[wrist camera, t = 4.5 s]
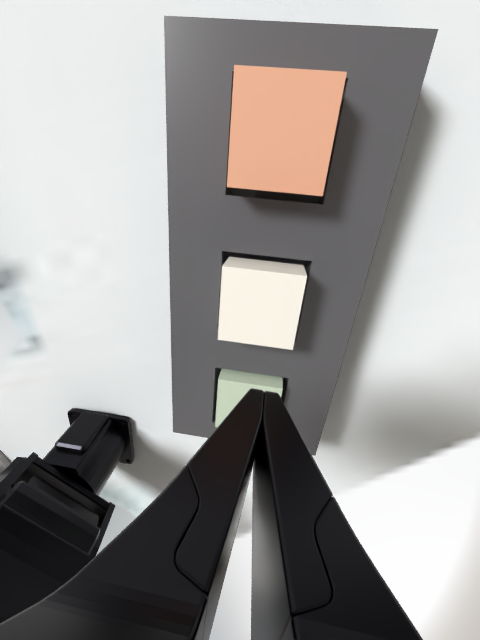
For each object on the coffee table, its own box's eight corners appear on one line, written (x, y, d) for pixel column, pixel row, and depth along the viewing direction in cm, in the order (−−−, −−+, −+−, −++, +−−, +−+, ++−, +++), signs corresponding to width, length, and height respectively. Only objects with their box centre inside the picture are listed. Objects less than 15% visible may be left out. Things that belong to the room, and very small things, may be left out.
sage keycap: (274, 413, 24) (273, 436, 21) (221, 404, 24) (215, 426, 22) (282, 368, 22) (282, 388, 20) (224, 360, 22) (218, 379, 20)
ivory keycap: (291, 331, 19) (292, 350, 17) (224, 322, 19) (217, 339, 17) (303, 265, 17) (307, 276, 15) (229, 256, 17) (222, 265, 15)
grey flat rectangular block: (310, 423, 26) (315, 455, 23) (185, 403, 27) (173, 432, 24) (404, 63, 15) (438, 29, 12) (186, 50, 16) (164, 15, 13)
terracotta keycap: (316, 195, 15) (322, 196, 13) (234, 187, 16) (226, 187, 14) (335, 91, 13) (347, 71, 11) (241, 85, 14) (233, 64, 12)
